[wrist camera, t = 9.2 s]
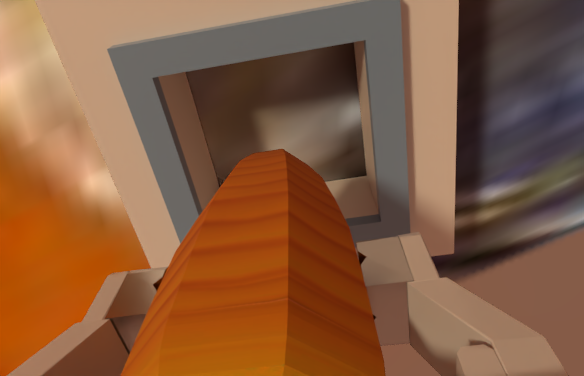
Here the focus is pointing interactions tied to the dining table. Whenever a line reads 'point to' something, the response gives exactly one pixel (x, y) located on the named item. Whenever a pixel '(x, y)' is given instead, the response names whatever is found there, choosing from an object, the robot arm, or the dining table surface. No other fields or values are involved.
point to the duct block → (250, 46)
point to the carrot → (262, 285)
